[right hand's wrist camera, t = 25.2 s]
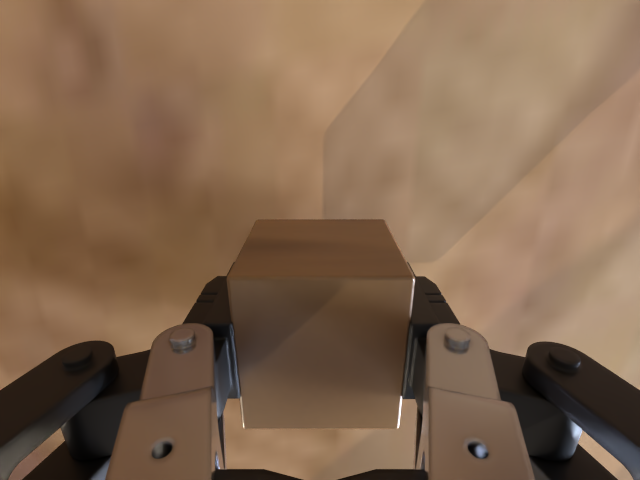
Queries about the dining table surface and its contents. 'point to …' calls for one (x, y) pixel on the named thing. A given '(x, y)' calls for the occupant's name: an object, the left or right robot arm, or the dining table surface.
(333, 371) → the brown cube
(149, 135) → the dining table surface
